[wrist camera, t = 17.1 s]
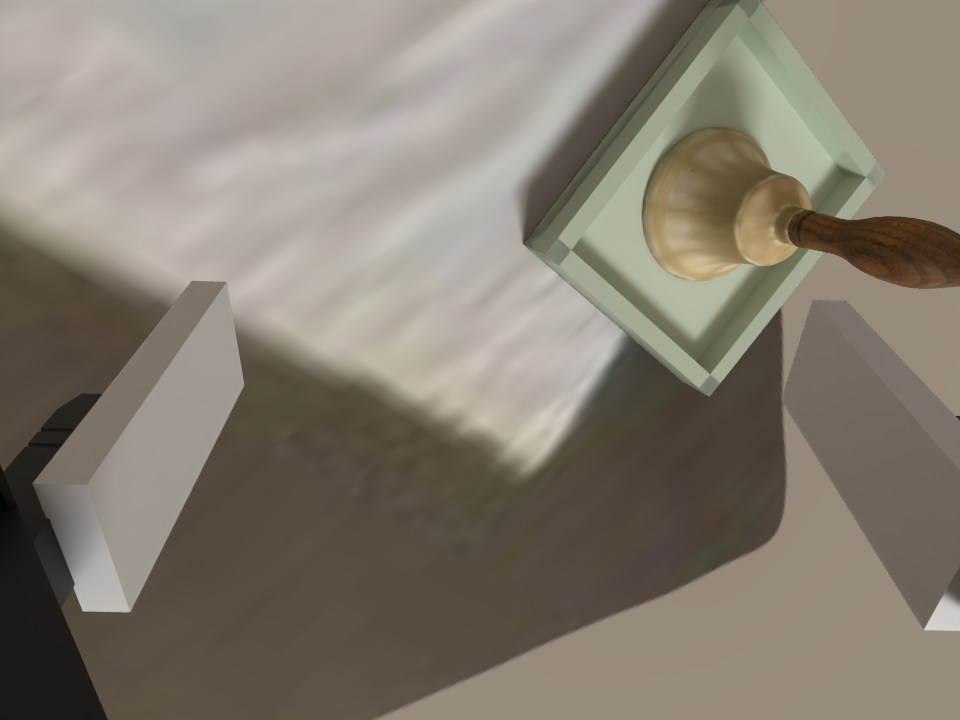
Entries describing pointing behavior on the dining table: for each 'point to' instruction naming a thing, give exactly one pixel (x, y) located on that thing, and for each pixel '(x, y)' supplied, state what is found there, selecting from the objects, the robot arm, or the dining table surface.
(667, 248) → the hand bell
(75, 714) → the robot arm
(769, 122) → the tray
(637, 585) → the dining table surface
